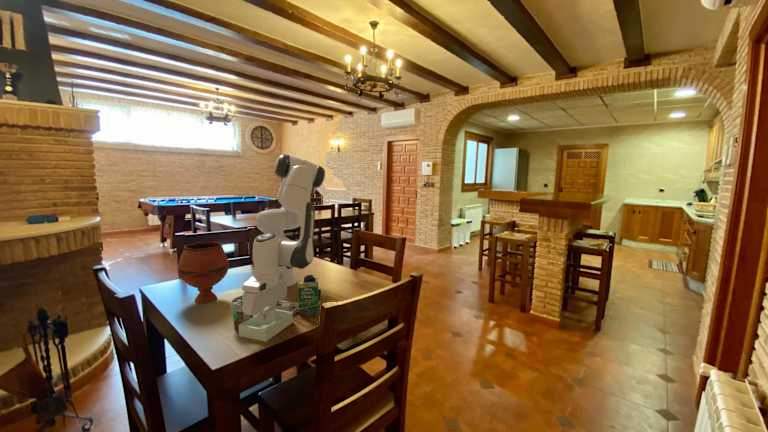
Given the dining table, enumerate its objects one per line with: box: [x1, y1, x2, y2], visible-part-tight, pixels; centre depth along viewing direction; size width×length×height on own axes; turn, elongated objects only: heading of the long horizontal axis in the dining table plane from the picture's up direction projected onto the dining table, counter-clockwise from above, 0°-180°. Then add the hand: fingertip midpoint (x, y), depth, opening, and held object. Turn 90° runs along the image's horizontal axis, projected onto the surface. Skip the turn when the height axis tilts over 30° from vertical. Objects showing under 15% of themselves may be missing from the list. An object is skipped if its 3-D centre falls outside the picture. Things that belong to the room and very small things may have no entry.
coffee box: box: [297, 281, 320, 316], centre depth 126 cm, size 8×3×13 cm, turn 94°
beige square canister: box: [303, 274, 322, 305], centre depth 139 cm, size 7×7×12 cm
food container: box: [229, 294, 254, 332], centre depth 115 cm, size 12×6×10 cm, turn 5°
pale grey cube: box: [280, 303, 293, 312], centre depth 128 cm, size 4×4×4 cm
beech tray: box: [254, 299, 299, 316], centre depth 129 cm, size 14×14×2 cm
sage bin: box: [238, 308, 294, 343], centre depth 113 cm, size 11×16×4 cm
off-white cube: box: [259, 307, 276, 326], centre depth 113 cm, size 4×4×5 cm
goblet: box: [177, 241, 230, 305], centre depth 137 cm, size 19×19×25 cm
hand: (267, 316), depth 113 cm, fingers closed on off-white cube, 4 cm apart
